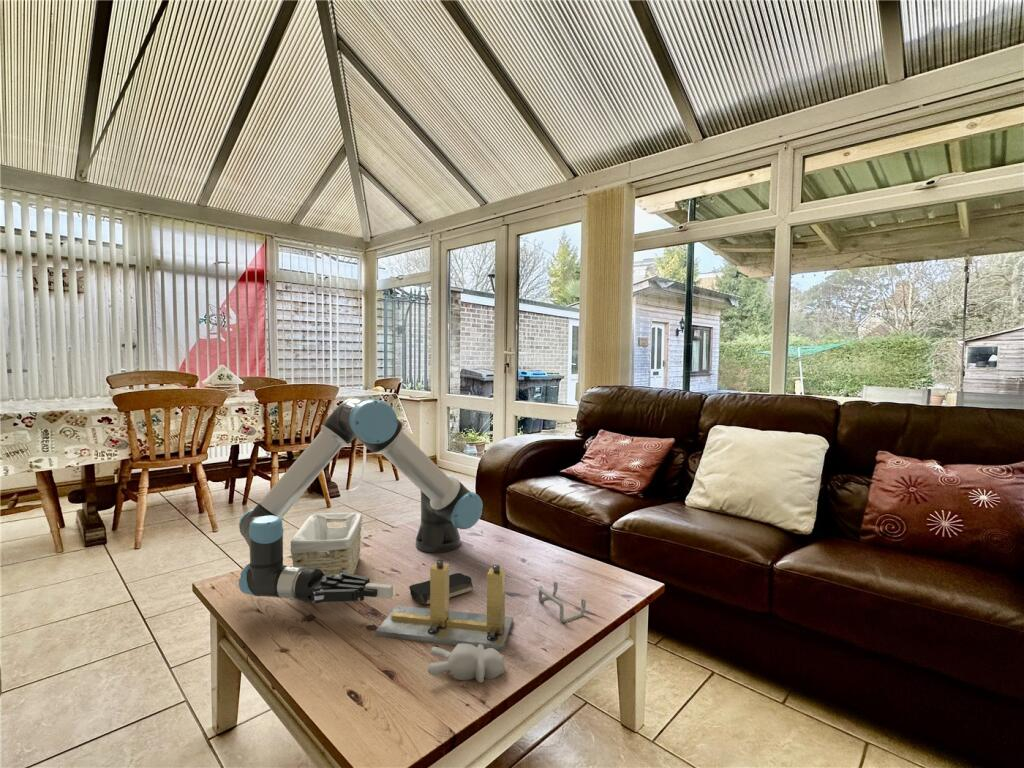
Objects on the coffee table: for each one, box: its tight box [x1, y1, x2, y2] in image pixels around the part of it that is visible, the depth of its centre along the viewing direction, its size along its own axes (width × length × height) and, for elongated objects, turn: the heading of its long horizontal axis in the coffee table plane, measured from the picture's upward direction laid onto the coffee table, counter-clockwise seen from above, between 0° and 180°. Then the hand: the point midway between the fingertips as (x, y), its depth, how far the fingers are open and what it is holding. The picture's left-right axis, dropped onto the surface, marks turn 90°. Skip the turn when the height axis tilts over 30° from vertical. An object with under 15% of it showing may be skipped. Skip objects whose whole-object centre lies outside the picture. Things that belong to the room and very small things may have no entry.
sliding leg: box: [429, 559, 450, 632], centre depth 115 cm, size 6×4×15 cm, turn 170°
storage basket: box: [290, 511, 363, 576], centre depth 145 cm, size 24×16×15 cm
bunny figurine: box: [427, 643, 505, 684], centre depth 100 cm, size 10×5×15 cm
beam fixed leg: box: [391, 564, 506, 638], centre depth 115 cm, size 6×27×15 cm, turn 80°
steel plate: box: [375, 604, 514, 652], centre depth 116 cm, size 12×30×1 cm, turn 80°
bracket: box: [537, 580, 587, 624], centre depth 126 cm, size 13×8×5 cm, turn 33°
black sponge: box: [408, 572, 474, 605], centre depth 133 cm, size 16×8×4 cm, turn 125°
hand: (391, 592), depth 118 cm, fingers closed
